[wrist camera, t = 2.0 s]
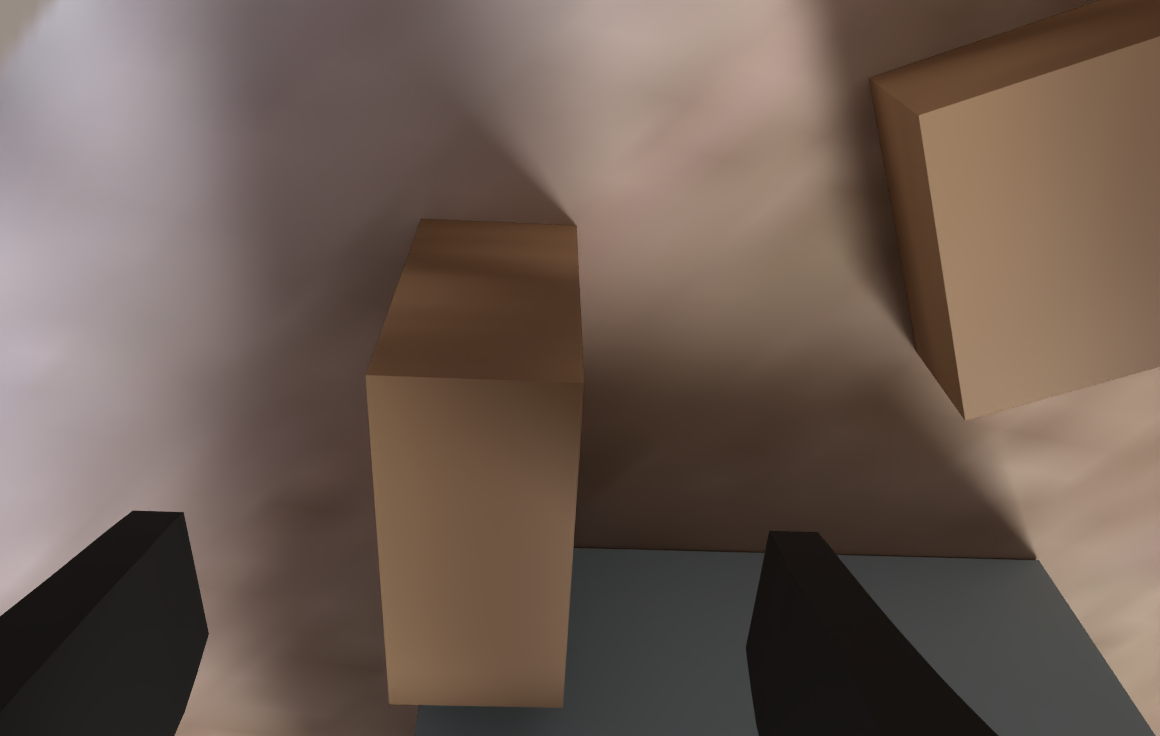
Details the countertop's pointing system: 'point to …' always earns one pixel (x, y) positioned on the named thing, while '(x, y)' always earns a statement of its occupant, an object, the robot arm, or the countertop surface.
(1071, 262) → the block
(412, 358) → the block
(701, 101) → the countertop surface
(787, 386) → the countertop surface
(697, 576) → the box
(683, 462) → the countertop surface
